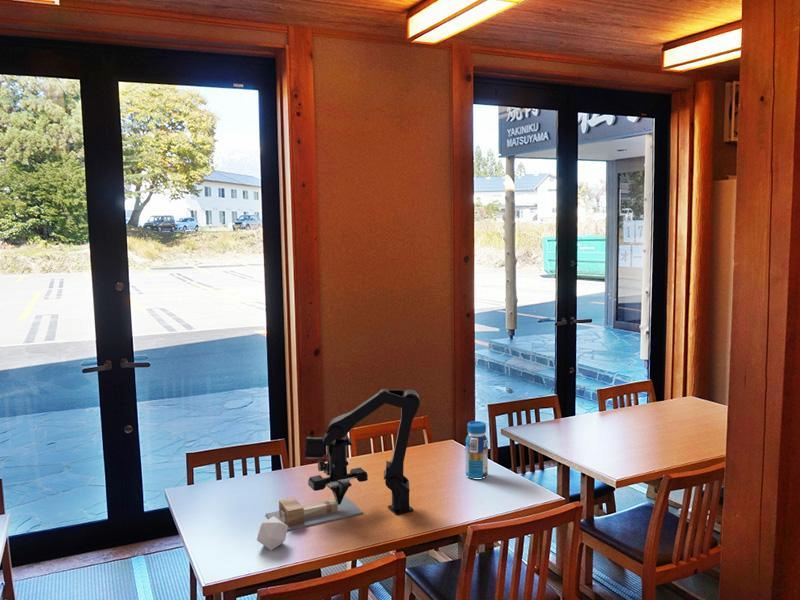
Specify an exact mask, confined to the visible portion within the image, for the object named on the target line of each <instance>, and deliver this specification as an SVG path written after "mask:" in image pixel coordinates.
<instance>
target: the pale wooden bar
mask: <svg viewBox="0 0 800 600" xmlns="http://www.w3.org/2000/svg"><path fill="white" fill-rule="evenodd" d="M329 500H330V501H328V500H325V502H324V501H320V502H321V503H319V502H315V503H316V504H314V503H310V504H311V505H309V504H306V505H307V506H305V505H301V506H302V507H303V508H304V518H309V517H313V516H318V515H322V514H327V513H331V512H336V511H338V503H337V502H336V501H335V500H333V499H329ZM281 520H282V521H283V522H284V523H286V517H285V511H284V510H283V511H281Z"/></svg>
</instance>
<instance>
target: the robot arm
mask: <svg viewBox="0 0 800 600" xmlns="http://www.w3.org/2000/svg"><path fill="white" fill-rule="evenodd" d="M385 404H386V405H390V406H393V407H397V408H400V422H399V425H398V428H397V435H396V438H395V439H396V440H395V444H394V450H393V453H392V458H391V459H390V461H389V460H385V469H384V470H383V480H385V481H384V482H385V486H386V487H387V488H388V489H389V490H390V491H391V504H390V505H388V506H387V509H389V510H390V511H392V513H393V514H395V515H401V514H405V513H410V512H413V511H414V508H413V507H412V506H411V505H410V491H411V489H410V479H408V478H407V477H406V476H405V474H404V464H405V463H404V462H405V457H406V452H407V448H408V445H409V444H408V443H409V439H410V438H409V437H410V433H411V429H412V425H413V420H414V419H415V417H416V415H417V414H418V410H419V408H420V405H421V401H420V396H419V393H418V392H417V391H416V390H414V389H411V388H410V389H406V390H402V389H388V388H382V389H381V388H380V390H379V391H378V392H377V393H375V394H374V395H373V396H371V397H370V398H368V399H367V400H365V401H364V402H362V403H361V404H360V405H358V406H357V407H354V408H353V409H352V410H351V411H349V412H346V413H343V414H341V415H338V416H336V417H334V418H333V419H332V420H330V422H329V424H328V428H327V430H326V432H325V433H324V435H323V437H322V436H316V437H315V436H314V437H312V436H306V439H305V441H306V443H305V449H304V453H305V454H304V456H305V459H324V458H325V456H327V455H328V459H327V462H326V461H325V460H321V461H317V470H318V472H323V474H326V476H327V477H323V476H322V475H320V474H319V475H314V476H310V477H309V478H308V481H307V482H308V483H307V485H308V487H310V488H311V489H312V490H313V491H314V492H315V491H316V492H317V491H318V492H319V491H322V490H325V488H329V490H330V491H332V494H333V496H334V499H336V502H337V503H338V505H340V504H341V502H342V500H343V497H345V495H346V493H347V491H348V490H349V488H350V487H352V486H353V485H352V483H351V480H354V479H356V480H357V481H358V482H359V483H362V482H363V483H364V482H367V481H368V478H369V476H368V475H369V474H368V472H367V471H366V470H364V469H363V468H362V467H356V468H350V470H349V473H348V466H349V462H348V452H347V450H348V449H347V446H352V445H353V439H351V438H350V437H349V436H348V435H347V434H348V433H349V432H350V431H351V430H352V429H353V428H354V427H355V426H356V425H357V424H358V423H359V422H361V421H363V419H365V418H367V417H368V416H369V415H371V414H372V413H374V412H375V411H376V410H378V409H379V408H381V407H382V406H384V405H385Z"/></svg>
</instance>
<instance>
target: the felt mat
mask: <svg viewBox="0 0 800 600" xmlns="http://www.w3.org/2000/svg"><path fill="white" fill-rule="evenodd" d="M330 500H331V499H329V500H327V501H330ZM332 500H335V501H336V499H335V498H333V499H332ZM325 501H326V500H325ZM325 501H323V502H325ZM321 502H322V501H319V502H318V503H321ZM316 503H317V502H315V503H313V504H316ZM311 504H312V503H310V504H309V503H308V504H306V505H305V504H304V506H307V505H311ZM363 514H364V512H363V510H361V508H359V506H357V505H356V504H355V503H354V502H352V500H350V498H348V497H347V496H344V497H343V500H342V502H341V504H340V505H338V511H336V512H331V513H327V514H322V515H318V516H313V517H309V518H304V524H299V525H295V526H290V527H288V528H287V532H289V531H293V530H297V529H301V528H306V527H311V526H314V525H319V524H324V523H328V522H332V521H337V520H341V519H345V518H350V517H354V516H358V515H359V516H360V515H363ZM265 516H266V517H267V520H268V519H270V518H271V517H273V516H274V517H276V518H277V519H279V520H280V521H281V522H283V521H282V520H281V517H280V516H279V510H277V511H271V512H268V513H265ZM283 523H284V522H283ZM284 524H285V525H287V524H286V523H284Z"/></svg>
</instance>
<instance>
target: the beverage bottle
mask: <svg viewBox="0 0 800 600" xmlns="http://www.w3.org/2000/svg"><path fill="white" fill-rule="evenodd" d="M466 429H467V433H468V434H467V436H466V438H465V448H464V451H465V472H464V473H465V474H466V475H465V477H466V476H468V477H471V478H483V477H486V476H487V475H489V473H488V471H489V470H488V468H489V467H488V465H489V463H488V459H489V458H488V457H489V453H488V452H489V446H488V444H489V441H488V438H487V436H486V433H487V424H486V423H485V422H484V421H480V420H477V421H476V420H475V421H469V422H468V423H467V428H466ZM468 477H467V478H468ZM487 477H488V476H487ZM487 477H486V478H487Z"/></svg>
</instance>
